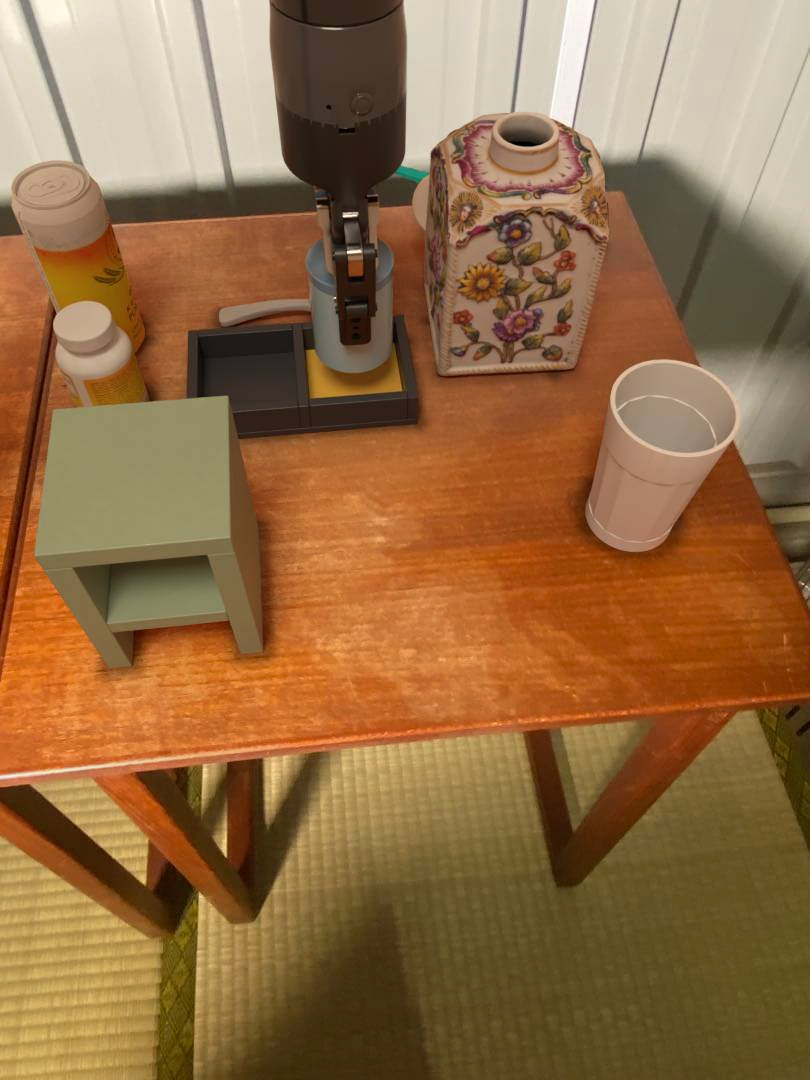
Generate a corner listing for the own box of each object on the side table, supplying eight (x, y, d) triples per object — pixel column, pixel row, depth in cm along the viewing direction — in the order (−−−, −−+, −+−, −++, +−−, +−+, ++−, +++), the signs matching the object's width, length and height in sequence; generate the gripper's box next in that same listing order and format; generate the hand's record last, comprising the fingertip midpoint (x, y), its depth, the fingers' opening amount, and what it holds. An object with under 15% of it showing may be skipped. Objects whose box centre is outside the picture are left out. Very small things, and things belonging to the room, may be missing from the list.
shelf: (109, 669, 55) (33, 556, 43) (117, 540, 60) (52, 408, 48) (263, 652, 56) (230, 537, 44) (258, 527, 61) (228, 394, 49)
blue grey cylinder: (316, 376, 63) (308, 292, 56) (311, 320, 66) (302, 233, 59) (397, 370, 63) (399, 285, 57) (388, 314, 67) (388, 228, 60)
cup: (657, 464, 65) (707, 350, 55) (700, 549, 61) (763, 443, 51) (559, 483, 64) (591, 370, 54) (596, 571, 60) (639, 467, 49)
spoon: (361, 323, 72) (358, 305, 71) (222, 340, 72) (217, 322, 71) (358, 299, 74) (355, 281, 72) (222, 316, 74) (217, 298, 72)
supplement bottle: (70, 428, 66) (26, 336, 58) (104, 380, 68) (66, 286, 60) (132, 445, 65) (96, 355, 57) (164, 396, 68) (134, 303, 60)
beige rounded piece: (399, 211, 70) (392, 226, 80) (449, 250, 71) (436, 259, 81) (436, 156, 69) (424, 178, 79) (487, 197, 70) (468, 213, 80)
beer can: (159, 351, 70) (110, 190, 58) (90, 380, 68) (24, 221, 56) (129, 308, 73) (75, 147, 60) (61, 336, 71) (-8, 174, 58)
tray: (194, 442, 65) (186, 416, 63) (195, 358, 70) (187, 329, 67) (417, 424, 67) (418, 397, 64) (403, 342, 71) (403, 314, 69)
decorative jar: (577, 374, 70) (630, 176, 54) (437, 381, 69) (451, 184, 54) (550, 277, 76) (591, 76, 61) (422, 283, 75) (431, 81, 60)
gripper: (269, 19, 51) (294, 248, 65) (279, 159, 44) (305, 385, 58) (391, 13, 52) (390, 242, 66) (423, 151, 44) (414, 377, 58)
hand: (351, 308), depth 62 cm, fingers closed on blue grey cylinder, 6 cm apart
